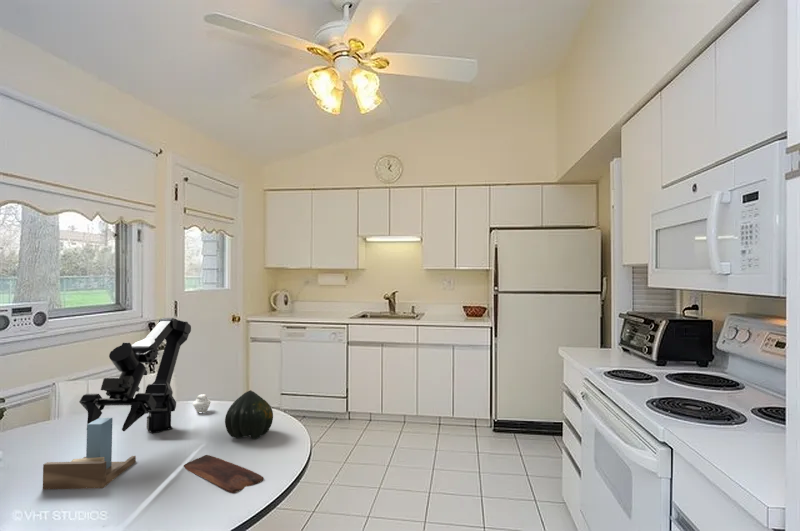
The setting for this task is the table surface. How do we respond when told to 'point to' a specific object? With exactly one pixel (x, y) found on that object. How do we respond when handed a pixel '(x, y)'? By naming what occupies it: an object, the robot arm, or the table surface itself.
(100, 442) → the light blue block
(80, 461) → the offcut upper
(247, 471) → the wooden tablet
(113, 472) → the tray
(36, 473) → the table surface
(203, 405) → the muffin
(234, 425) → the squash
